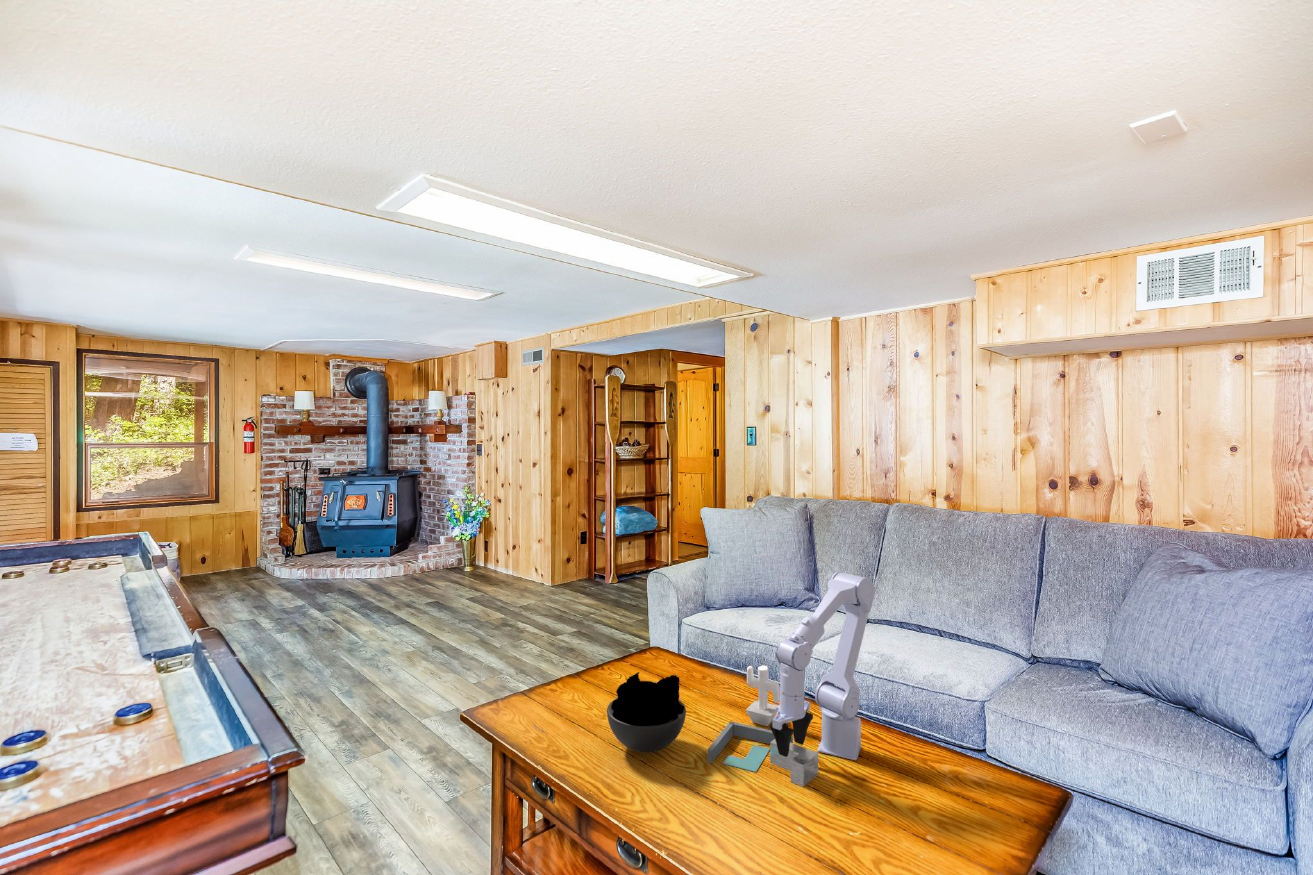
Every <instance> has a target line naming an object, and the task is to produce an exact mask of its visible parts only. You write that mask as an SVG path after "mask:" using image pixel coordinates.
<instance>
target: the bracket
mask: <svg viewBox="0 0 1313 875" xmlns="http://www.w3.org/2000/svg"><path fill="white" fill-rule="evenodd" d="M769 747H770V750H769V763H770V764H772V765H774V766H777V767H780V768H781V769H784V770H786V771H789V772H790V783H793V784H795V785H797V786H800V787H802V788H805V787H806V786H807V785H808V784H809V783H810V782H811V781H812V780H813V779H815V778H816V777H817V776H818V775H819V752H818V751H817V752H816V751H815V750H811V749H810V748H809V749H808V748H807V747H803V746H802V745H800V744H799V745H798V744H797V743H794V742H793V743H791V742H790V747H789V754H788V756H787V757H785V756H782V755H780V754H779V752H778V748H777V744H776V740H775V739H774V740H773V741H771V742H770V744H769Z"/></svg>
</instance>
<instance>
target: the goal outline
mask: <svg viewBox="0 0 1313 875" xmlns="http://www.w3.org/2000/svg"><path fill="white" fill-rule="evenodd" d="M768 753H770V748H769V747H766V746H761V745H757V744H753V746H752V747H751V749H750V750H749V752H748V753H747V755H746V756H745V757H744V758H742V757H738V756H734V755H730V754H728V755H727V757H726V758H725V759H724V761H723V762H722V764H723V765H725V766H729V767H734V768H738V769H740V770H745V771H749V772H751V773H757V772H758V770H759V769H760V767H761V765H762V763H763V762H764V760H765V758H766V757H767V755H768Z"/></svg>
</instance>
